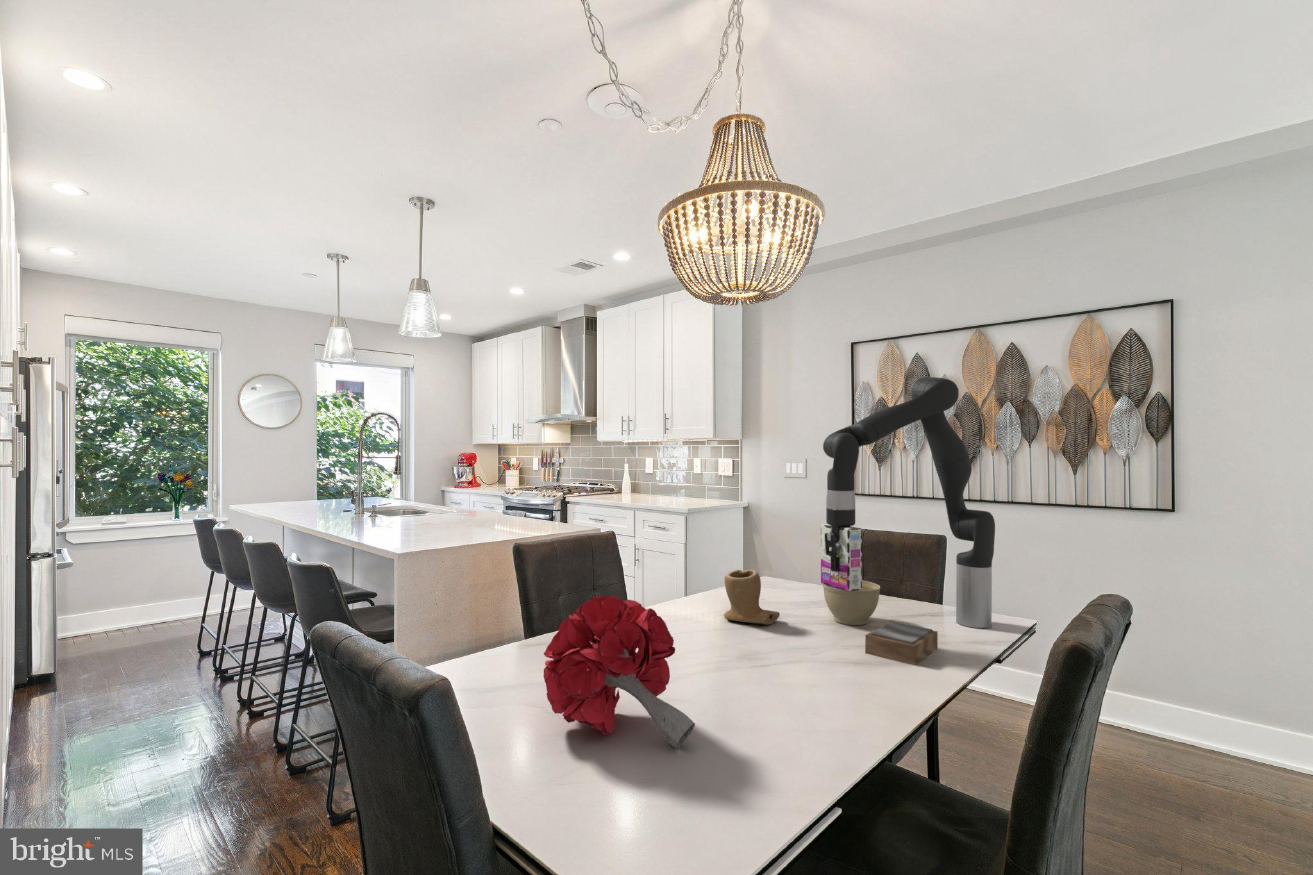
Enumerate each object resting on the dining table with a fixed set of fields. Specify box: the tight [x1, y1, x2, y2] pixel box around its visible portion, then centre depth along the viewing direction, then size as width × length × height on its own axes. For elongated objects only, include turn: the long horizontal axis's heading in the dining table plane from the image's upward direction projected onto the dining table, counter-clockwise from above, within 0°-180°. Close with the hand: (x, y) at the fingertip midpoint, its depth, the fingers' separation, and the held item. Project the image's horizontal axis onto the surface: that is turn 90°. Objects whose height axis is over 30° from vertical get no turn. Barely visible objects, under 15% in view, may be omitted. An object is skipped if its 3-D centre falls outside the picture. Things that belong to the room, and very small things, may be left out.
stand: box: [864, 621, 939, 666], centre depth 154 cm, size 16×12×5 cm
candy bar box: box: [820, 523, 863, 592], centre depth 165 cm, size 11×5×16 cm, turn 25°
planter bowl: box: [822, 580, 881, 626], centre depth 180 cm, size 16×16×11 cm
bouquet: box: [543, 595, 696, 749], centre depth 110 cm, size 22×24×30 cm
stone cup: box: [723, 568, 781, 626], centre depth 178 cm, size 15×12×15 cm
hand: (840, 569), depth 165 cm, fingers closed on candy bar box, 6 cm apart
